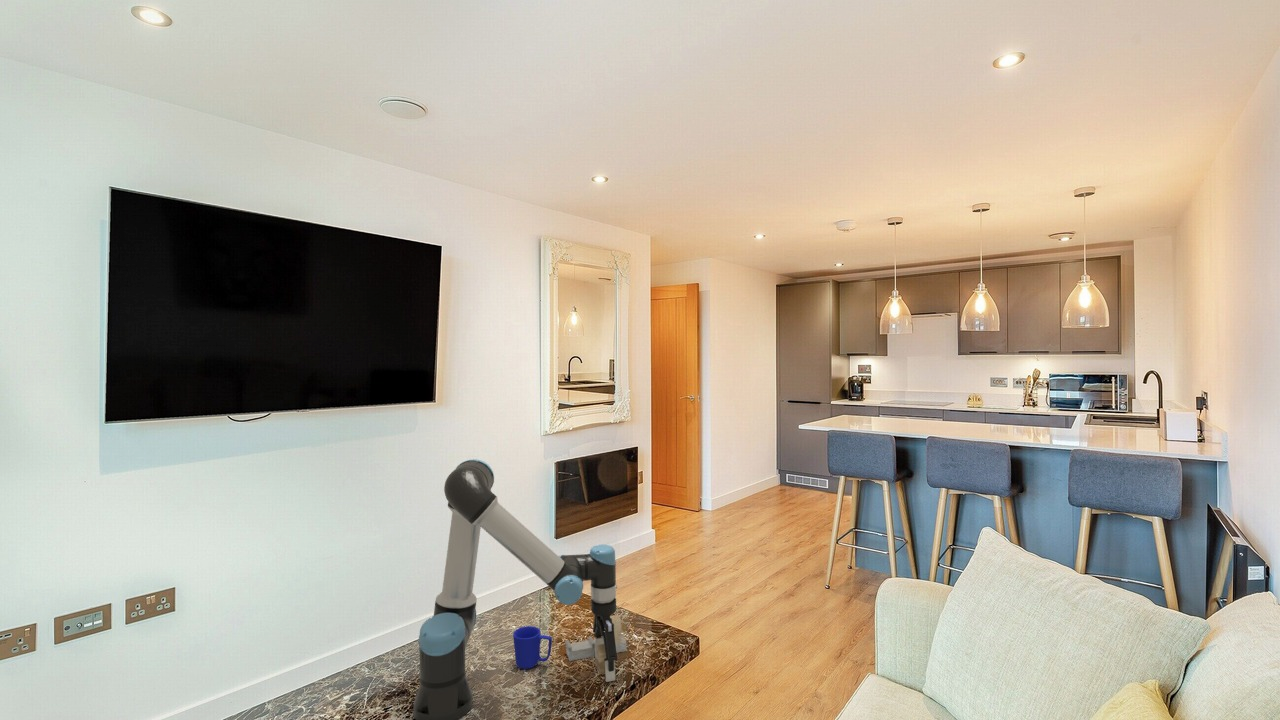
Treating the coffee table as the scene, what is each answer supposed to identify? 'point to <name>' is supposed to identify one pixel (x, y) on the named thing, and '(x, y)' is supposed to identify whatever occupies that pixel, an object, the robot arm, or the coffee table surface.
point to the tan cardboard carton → (600, 658)
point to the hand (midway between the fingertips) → (604, 669)
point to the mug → (529, 646)
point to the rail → (588, 647)
